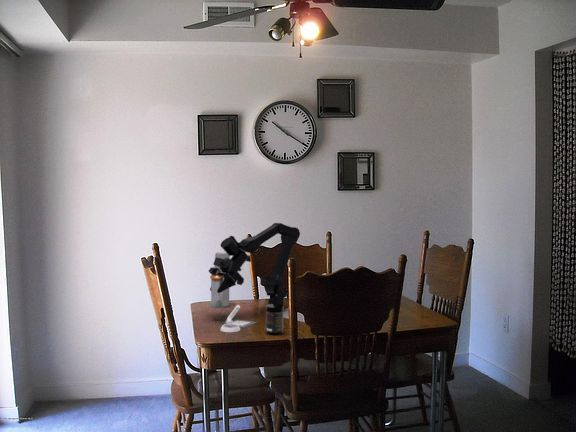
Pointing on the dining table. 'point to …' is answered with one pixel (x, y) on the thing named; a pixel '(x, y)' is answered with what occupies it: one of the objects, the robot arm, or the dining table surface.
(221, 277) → the clear copper-topped jar
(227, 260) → the robot arm
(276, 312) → the supplement container
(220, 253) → the water bottle
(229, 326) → the hook
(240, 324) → the pad
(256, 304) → the dining table surface
